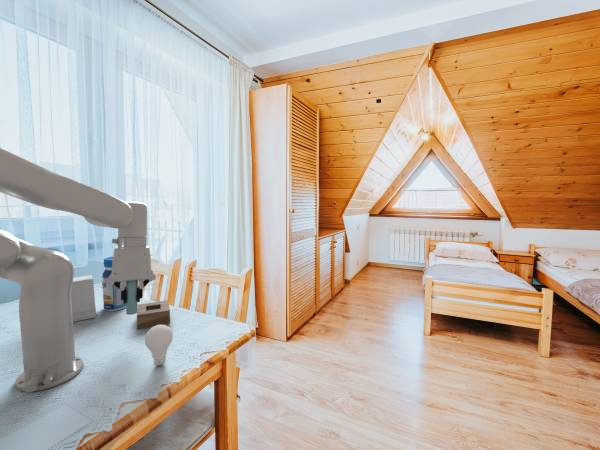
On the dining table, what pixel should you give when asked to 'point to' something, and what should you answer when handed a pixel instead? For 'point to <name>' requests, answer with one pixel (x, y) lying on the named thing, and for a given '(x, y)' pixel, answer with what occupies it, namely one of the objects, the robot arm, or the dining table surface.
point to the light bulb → (159, 342)
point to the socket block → (153, 314)
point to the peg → (131, 297)
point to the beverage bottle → (111, 290)
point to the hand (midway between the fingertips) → (131, 300)
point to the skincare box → (83, 298)
